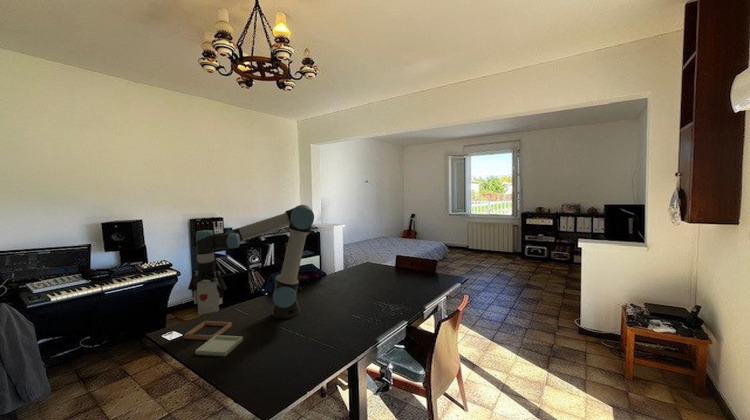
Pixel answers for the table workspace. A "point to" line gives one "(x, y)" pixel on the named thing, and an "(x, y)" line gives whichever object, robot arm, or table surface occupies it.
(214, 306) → the supplement box
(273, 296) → the robot arm
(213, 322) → the frame
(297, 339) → the table surface
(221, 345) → the tray
